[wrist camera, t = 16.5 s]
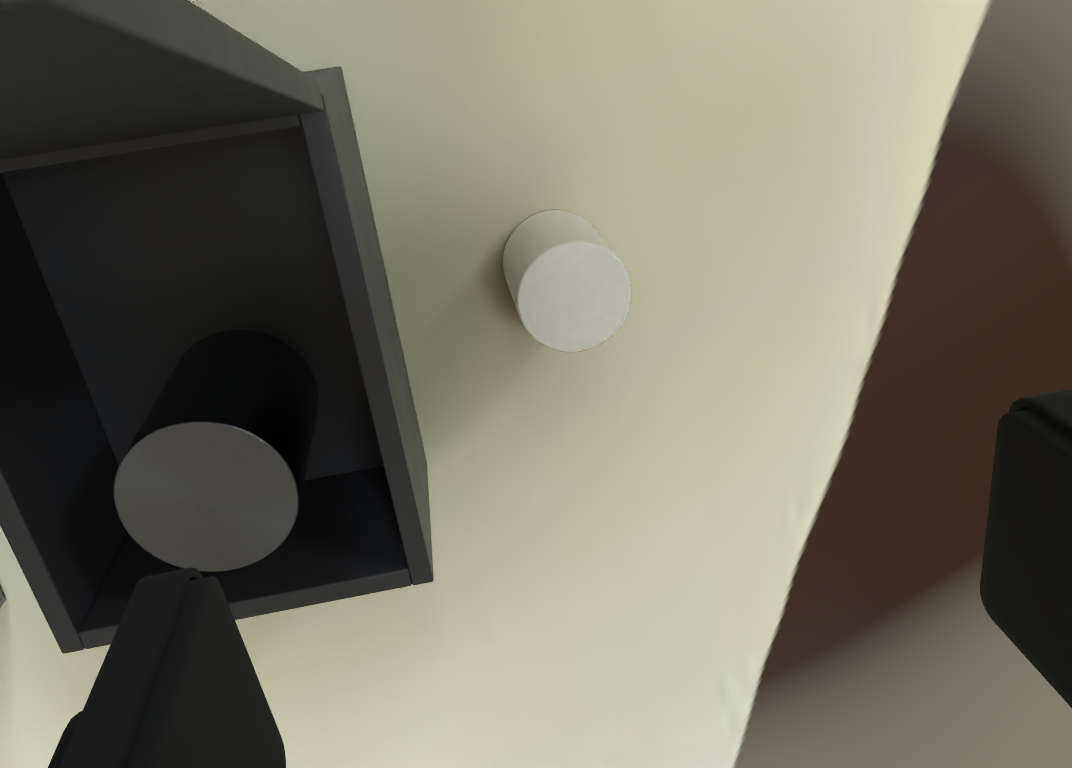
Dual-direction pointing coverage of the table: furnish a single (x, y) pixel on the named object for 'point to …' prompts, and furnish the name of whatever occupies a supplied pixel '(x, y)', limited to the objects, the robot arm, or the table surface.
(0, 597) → the coffeepot
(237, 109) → the lid
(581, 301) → the cylinder
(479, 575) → the table surface
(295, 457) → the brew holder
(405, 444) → the coffee maker
